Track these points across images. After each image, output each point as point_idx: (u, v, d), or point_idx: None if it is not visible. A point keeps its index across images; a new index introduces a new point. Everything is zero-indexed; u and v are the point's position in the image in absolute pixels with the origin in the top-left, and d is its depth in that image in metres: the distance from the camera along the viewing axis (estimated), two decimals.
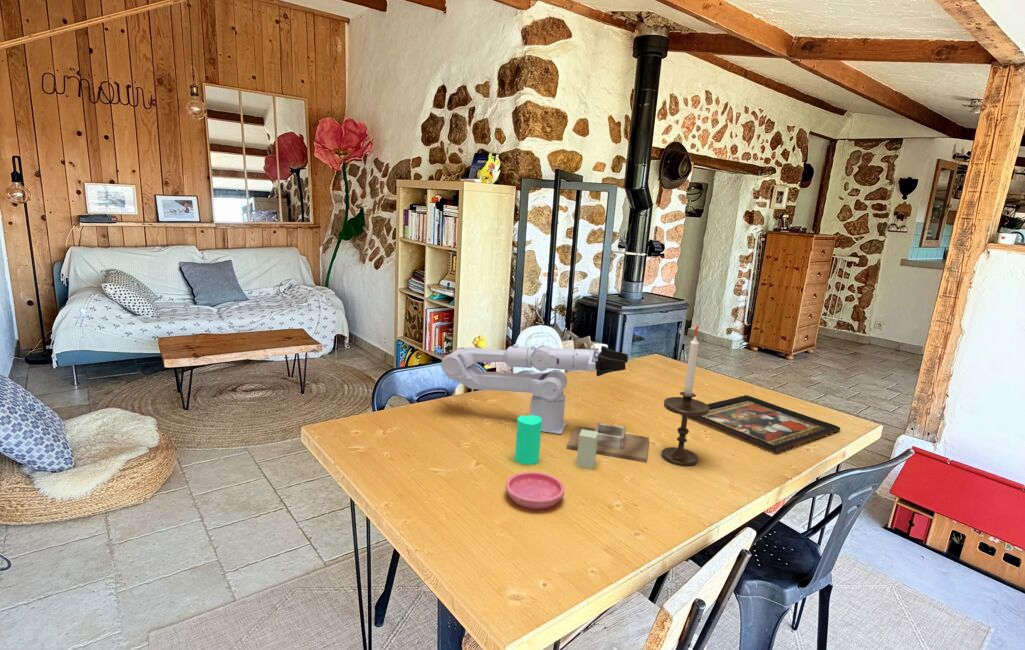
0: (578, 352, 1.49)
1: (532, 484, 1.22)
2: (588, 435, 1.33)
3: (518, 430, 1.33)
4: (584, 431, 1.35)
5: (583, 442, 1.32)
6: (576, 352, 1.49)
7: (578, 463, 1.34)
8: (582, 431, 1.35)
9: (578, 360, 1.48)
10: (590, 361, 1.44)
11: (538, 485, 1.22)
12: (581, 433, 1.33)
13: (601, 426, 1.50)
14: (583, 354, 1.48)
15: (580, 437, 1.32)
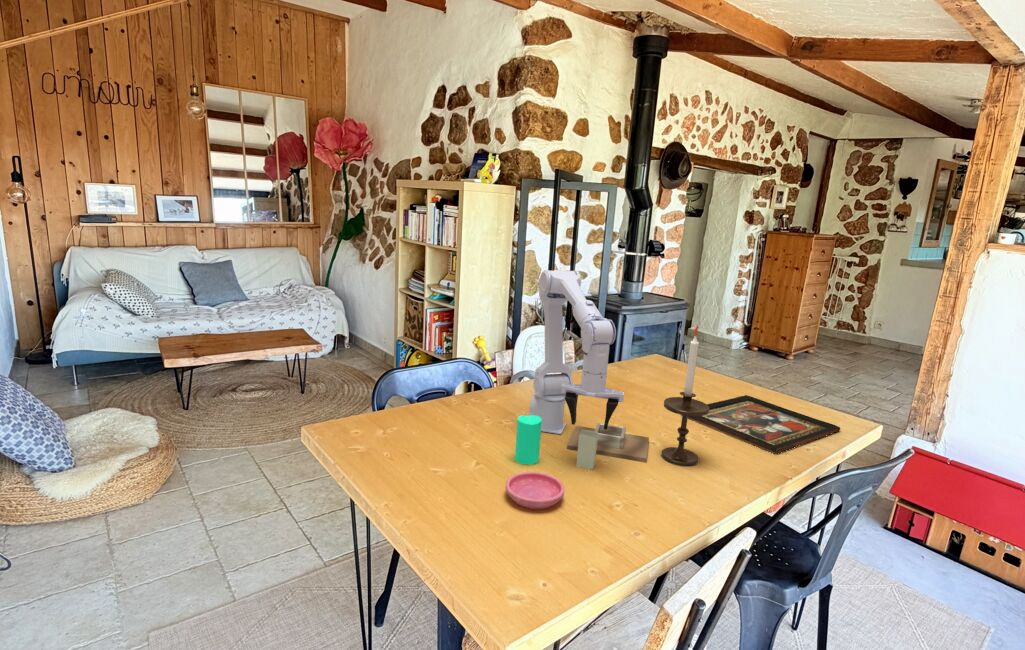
0: (586, 377, 1.29)
1: (532, 484, 1.22)
2: (588, 435, 1.33)
3: (518, 430, 1.33)
4: (584, 431, 1.35)
5: (583, 442, 1.32)
6: (586, 375, 1.29)
7: (578, 463, 1.34)
8: (582, 431, 1.35)
9: (582, 375, 1.31)
10: (567, 388, 1.32)
11: (538, 485, 1.22)
12: (581, 433, 1.33)
13: (601, 426, 1.50)
14: (583, 382, 1.29)
15: (580, 437, 1.32)
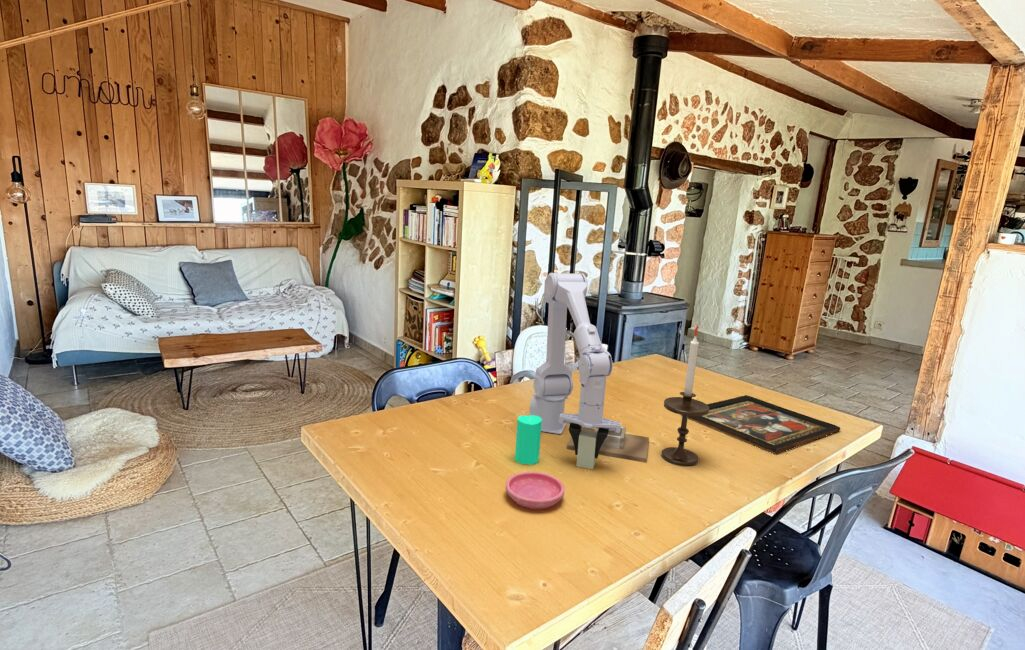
0: (583, 408, 1.30)
1: (532, 484, 1.22)
2: (588, 434, 1.33)
3: (518, 430, 1.33)
4: (584, 430, 1.35)
5: (584, 442, 1.32)
6: (583, 406, 1.30)
7: (578, 463, 1.34)
8: (582, 431, 1.35)
9: (579, 405, 1.32)
10: (565, 419, 1.33)
11: (538, 485, 1.22)
12: (581, 433, 1.33)
13: None
14: (581, 413, 1.31)
15: (580, 437, 1.32)
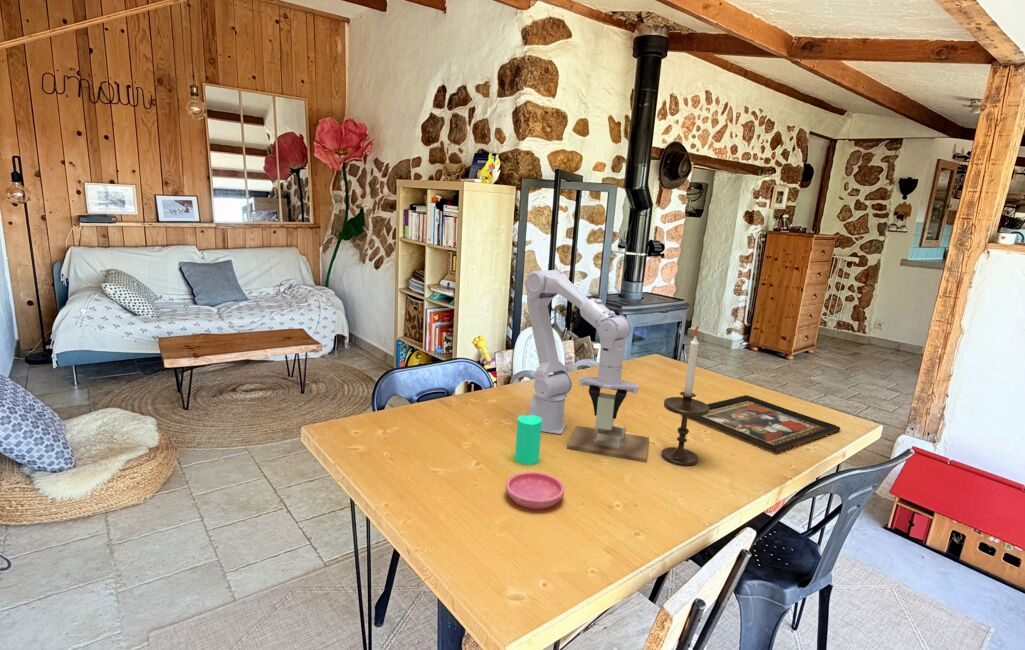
0: (602, 370, 1.37)
1: (532, 484, 1.22)
2: (607, 397, 1.39)
3: (518, 430, 1.33)
4: (603, 394, 1.42)
5: (602, 404, 1.39)
6: (602, 368, 1.37)
7: (597, 424, 1.40)
8: (601, 394, 1.41)
9: None
10: (585, 381, 1.40)
11: (538, 485, 1.22)
12: (600, 396, 1.40)
13: None
14: (600, 375, 1.38)
15: (599, 399, 1.39)
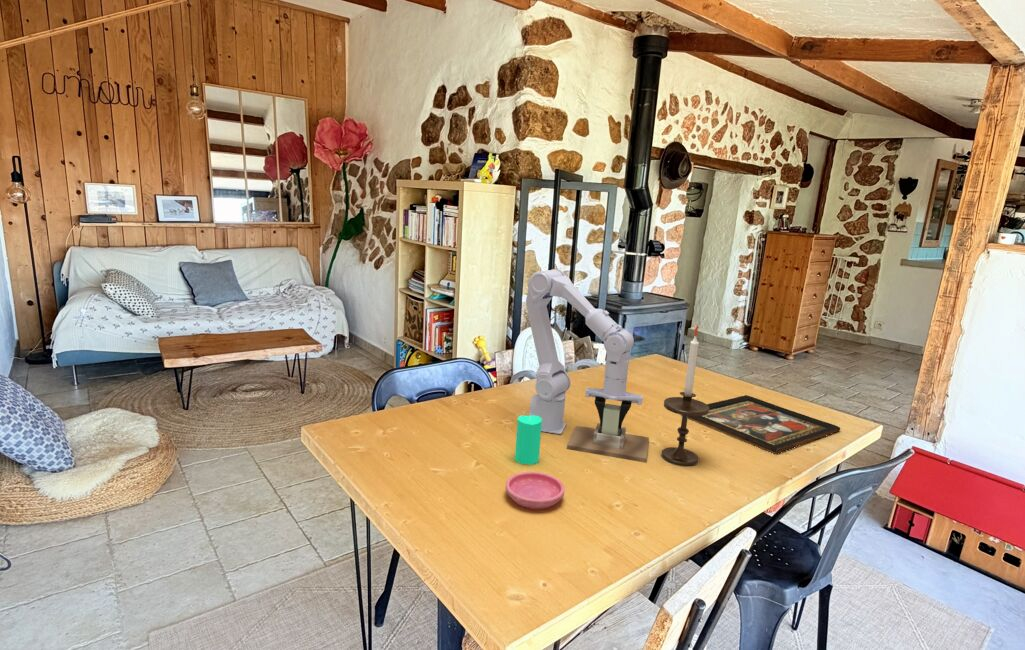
0: (608, 382, 1.42)
1: (532, 484, 1.22)
2: (612, 408, 1.44)
3: (518, 430, 1.33)
4: (608, 405, 1.46)
5: (608, 415, 1.43)
6: (608, 380, 1.42)
7: None
8: (606, 405, 1.46)
9: (604, 380, 1.44)
10: (591, 392, 1.45)
11: (537, 485, 1.22)
12: (605, 407, 1.45)
13: (601, 426, 1.50)
14: (606, 387, 1.43)
15: (605, 410, 1.43)
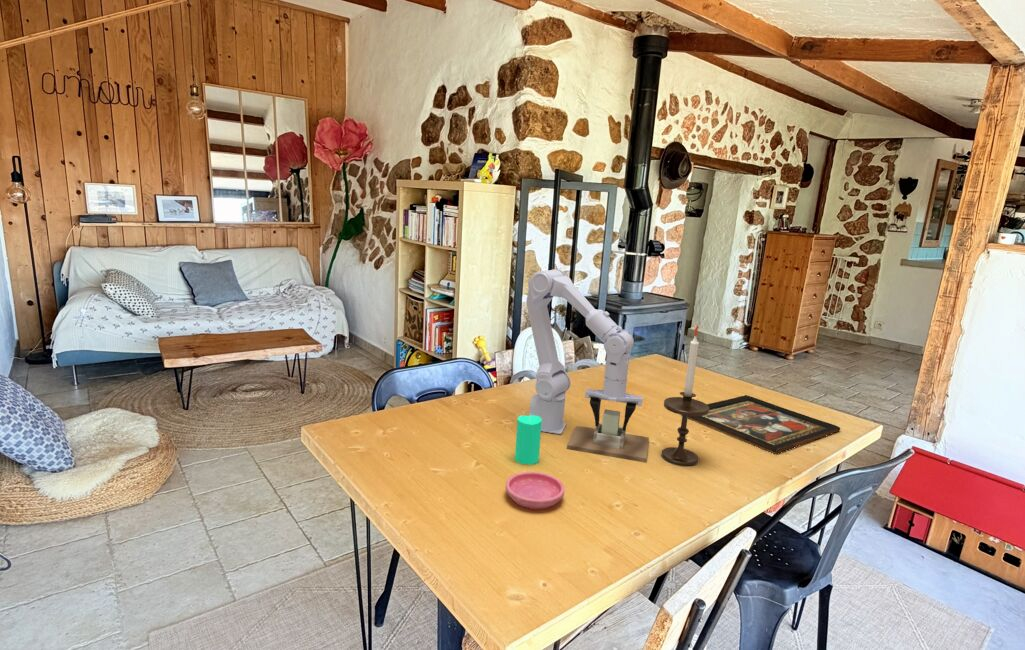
0: (608, 383, 1.42)
1: (532, 484, 1.22)
2: (611, 414, 1.44)
3: (518, 430, 1.33)
4: (608, 410, 1.47)
5: (607, 421, 1.44)
6: (608, 381, 1.42)
7: None
8: (605, 411, 1.46)
9: (604, 381, 1.44)
10: (590, 393, 1.45)
11: (537, 485, 1.22)
12: (605, 412, 1.45)
13: (601, 426, 1.50)
14: (606, 388, 1.43)
15: (604, 416, 1.44)
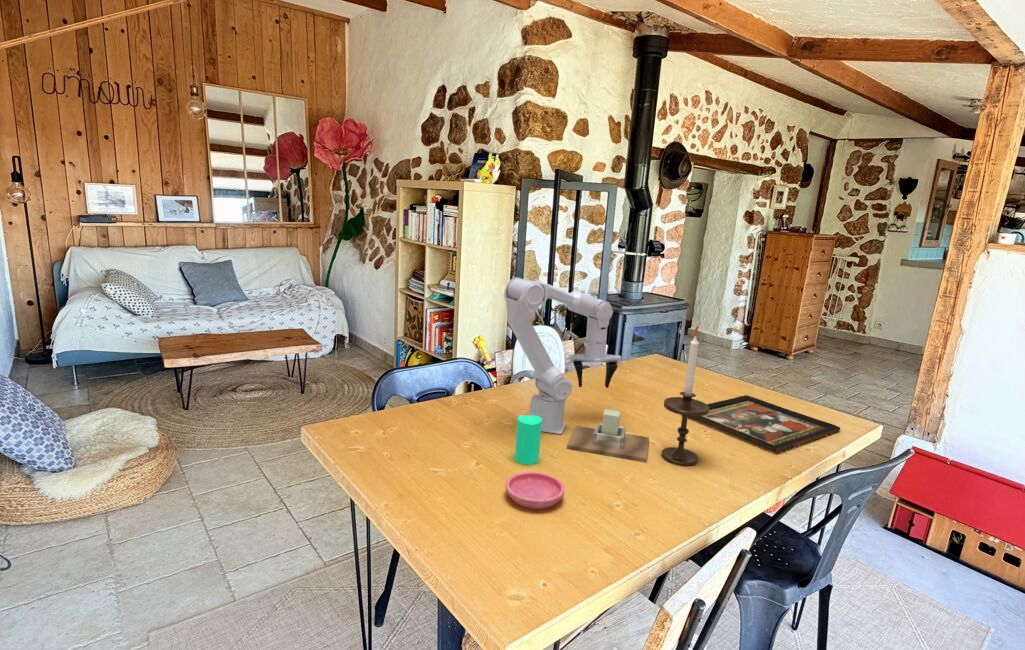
0: (591, 346, 1.56)
1: (532, 484, 1.22)
2: (611, 414, 1.44)
3: (518, 430, 1.33)
4: (608, 410, 1.47)
5: (607, 421, 1.44)
6: (591, 344, 1.56)
7: None
8: (605, 411, 1.46)
9: (586, 345, 1.58)
10: (575, 358, 1.58)
11: (537, 485, 1.22)
12: (605, 412, 1.45)
13: (601, 426, 1.50)
14: (589, 351, 1.57)
15: (604, 416, 1.44)
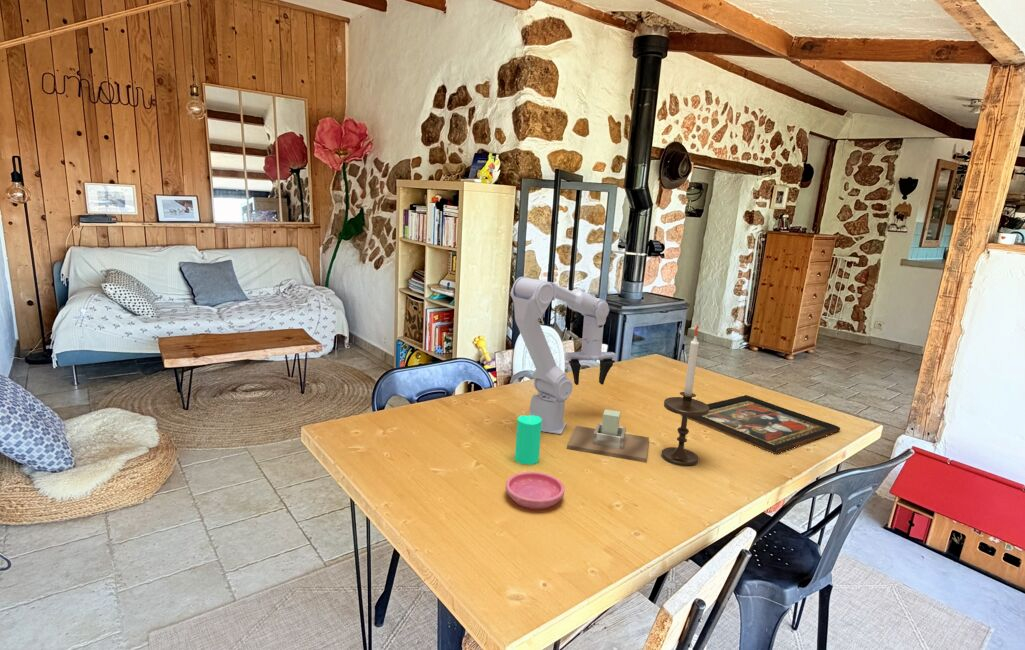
0: (589, 344, 1.59)
1: (532, 484, 1.22)
2: (611, 414, 1.44)
3: (518, 430, 1.33)
4: (608, 410, 1.47)
5: (607, 421, 1.44)
6: (589, 342, 1.58)
7: None
8: (605, 411, 1.46)
9: (583, 343, 1.60)
10: (572, 356, 1.60)
11: (537, 485, 1.22)
12: (605, 412, 1.45)
13: (601, 426, 1.50)
14: (587, 349, 1.59)
15: (604, 416, 1.44)
